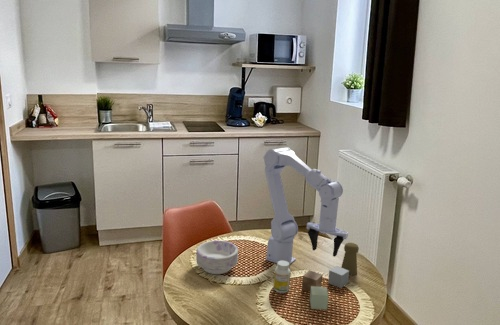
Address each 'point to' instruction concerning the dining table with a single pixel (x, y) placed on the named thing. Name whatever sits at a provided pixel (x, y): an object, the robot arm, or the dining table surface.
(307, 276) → the walnut block
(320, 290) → the sage green block
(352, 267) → the olive brown rounded piece
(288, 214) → the robot arm
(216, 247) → the white purple bowl
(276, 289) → the supplement bottle
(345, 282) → the slate grey block
